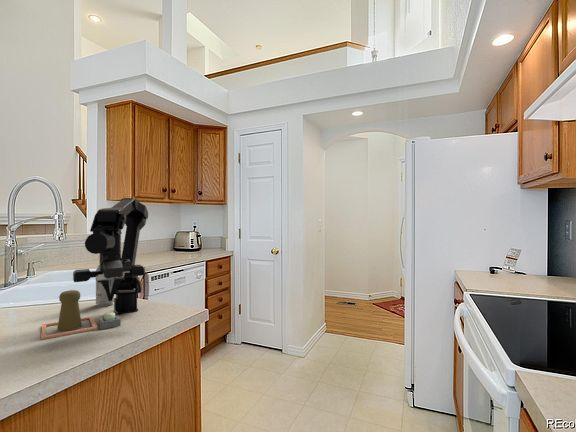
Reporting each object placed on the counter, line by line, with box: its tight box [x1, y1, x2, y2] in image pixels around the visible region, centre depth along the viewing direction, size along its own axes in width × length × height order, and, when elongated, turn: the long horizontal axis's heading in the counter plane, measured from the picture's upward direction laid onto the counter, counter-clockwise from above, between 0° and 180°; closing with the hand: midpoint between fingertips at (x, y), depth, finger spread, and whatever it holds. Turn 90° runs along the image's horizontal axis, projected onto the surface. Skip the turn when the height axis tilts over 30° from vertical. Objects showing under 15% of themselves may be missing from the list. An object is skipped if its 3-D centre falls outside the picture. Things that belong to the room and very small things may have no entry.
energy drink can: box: [95, 264, 115, 307], centre depth 119 cm, size 6×6×15 cm
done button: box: [104, 312, 116, 321], centre depth 96 cm, size 3×3×2 cm
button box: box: [98, 314, 121, 330], centre depth 96 cm, size 5×5×2 cm
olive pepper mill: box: [56, 289, 83, 332], centre depth 94 cm, size 6×6×11 cm
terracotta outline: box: [40, 315, 98, 341], centre depth 94 cm, size 13×13×1 cm
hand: (110, 300), depth 96 cm, fingers closed
